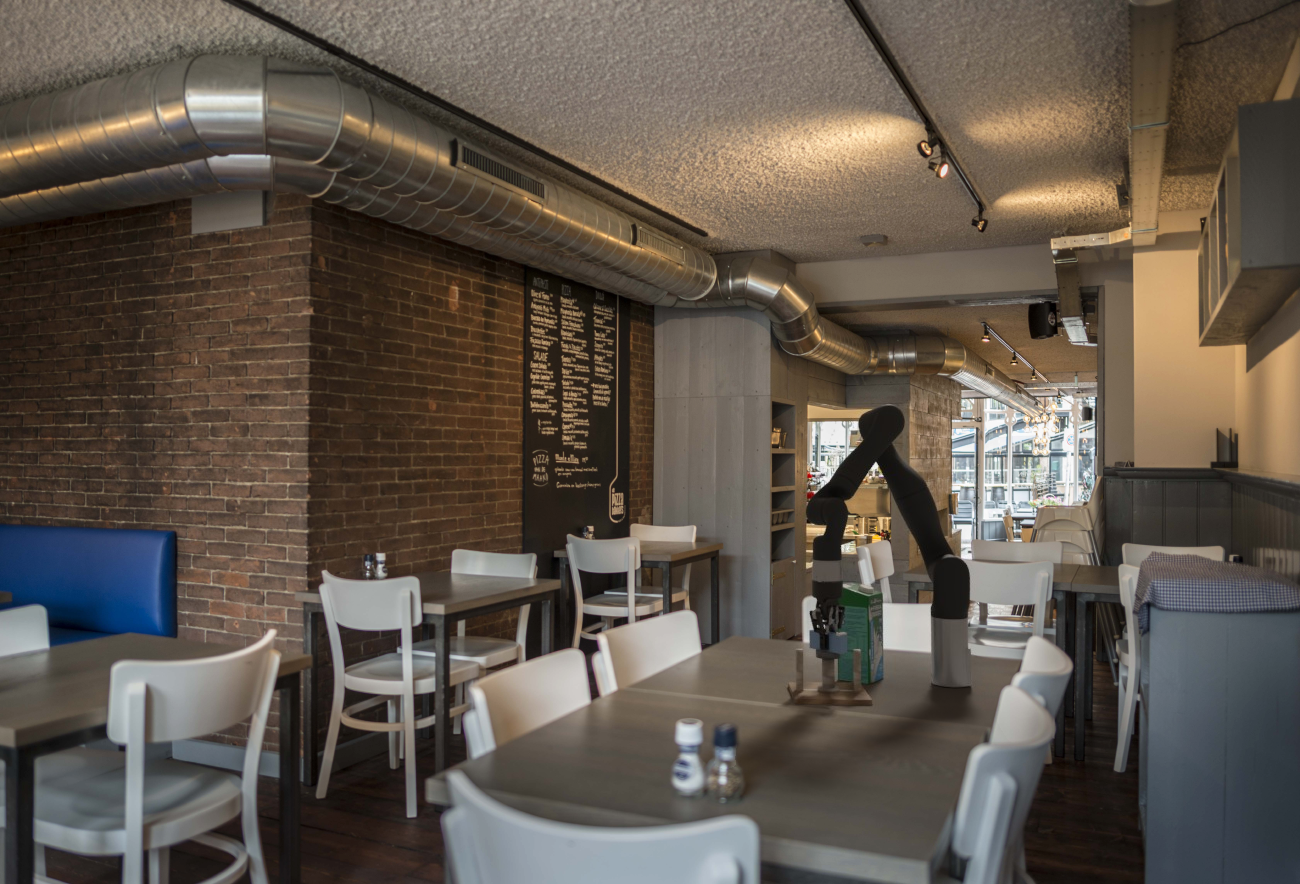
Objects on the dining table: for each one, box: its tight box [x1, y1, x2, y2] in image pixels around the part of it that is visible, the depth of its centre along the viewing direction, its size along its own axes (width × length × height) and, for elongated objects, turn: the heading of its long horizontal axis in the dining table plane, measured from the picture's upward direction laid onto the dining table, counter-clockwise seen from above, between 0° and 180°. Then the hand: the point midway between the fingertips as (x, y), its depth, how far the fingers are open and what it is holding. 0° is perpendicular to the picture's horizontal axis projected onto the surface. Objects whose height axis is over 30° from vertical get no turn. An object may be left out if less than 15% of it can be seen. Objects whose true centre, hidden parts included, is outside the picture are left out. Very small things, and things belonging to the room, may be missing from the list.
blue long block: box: [809, 629, 847, 660], centre depth 229 cm, size 6×10×6 cm, turn 38°
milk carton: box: [837, 582, 885, 685], centre depth 248 cm, size 9×9×25 cm
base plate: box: [787, 648, 873, 706], centre depth 229 cm, size 18×18×11 cm
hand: (827, 648), depth 229 cm, fingers closed on blue long block, 3 cm apart
